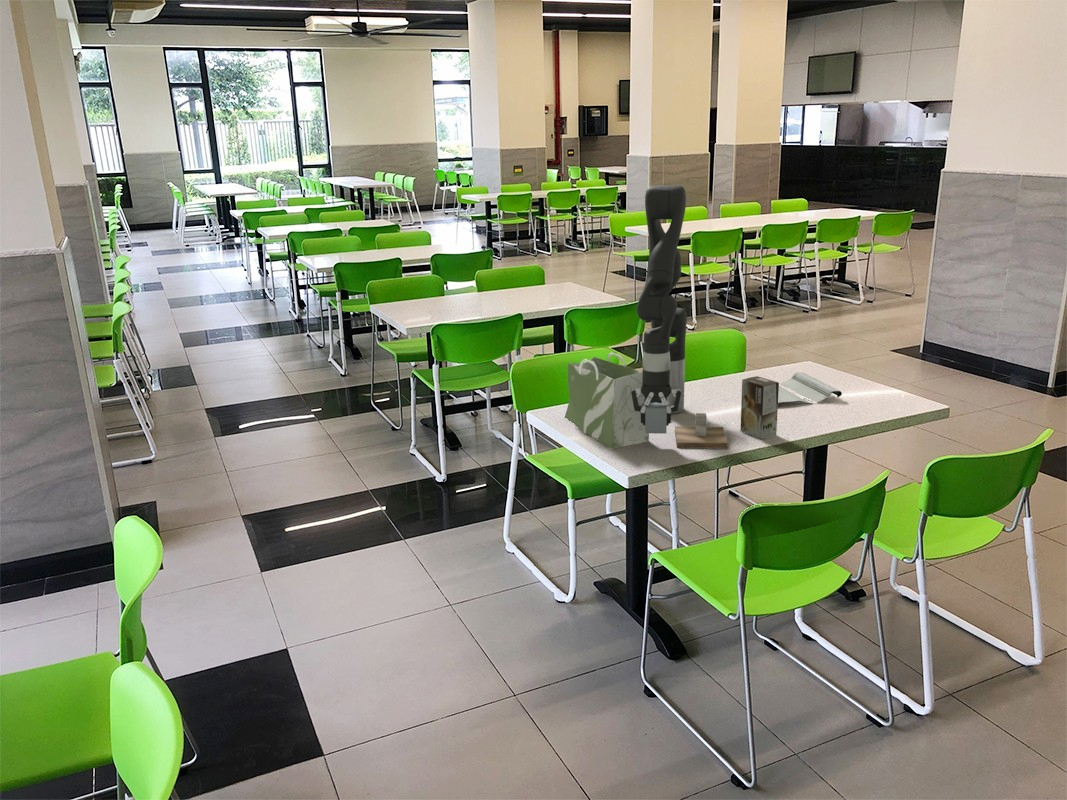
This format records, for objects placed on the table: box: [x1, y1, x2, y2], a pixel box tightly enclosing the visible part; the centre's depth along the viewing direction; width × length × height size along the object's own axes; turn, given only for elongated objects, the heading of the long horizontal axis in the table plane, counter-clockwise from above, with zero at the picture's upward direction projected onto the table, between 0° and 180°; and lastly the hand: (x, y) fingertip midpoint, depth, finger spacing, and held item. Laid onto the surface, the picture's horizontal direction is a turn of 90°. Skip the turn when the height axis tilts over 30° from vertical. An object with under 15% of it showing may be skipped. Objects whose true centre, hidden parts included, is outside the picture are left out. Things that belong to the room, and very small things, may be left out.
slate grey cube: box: [645, 402, 667, 435], centre depth 229 cm, size 6×6×7 cm
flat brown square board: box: [674, 412, 729, 449], centre depth 235 cm, size 14×14×8 cm
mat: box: [778, 371, 843, 405], centre depth 275 cm, size 23×24×5 cm
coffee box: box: [739, 375, 780, 440], centre depth 238 cm, size 9×6×16 cm
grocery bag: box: [564, 352, 650, 450], centre depth 244 cm, size 32×14×23 cm, turn 24°
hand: (655, 424), depth 230 cm, fingers closed on slate grey cube, 5 cm apart
